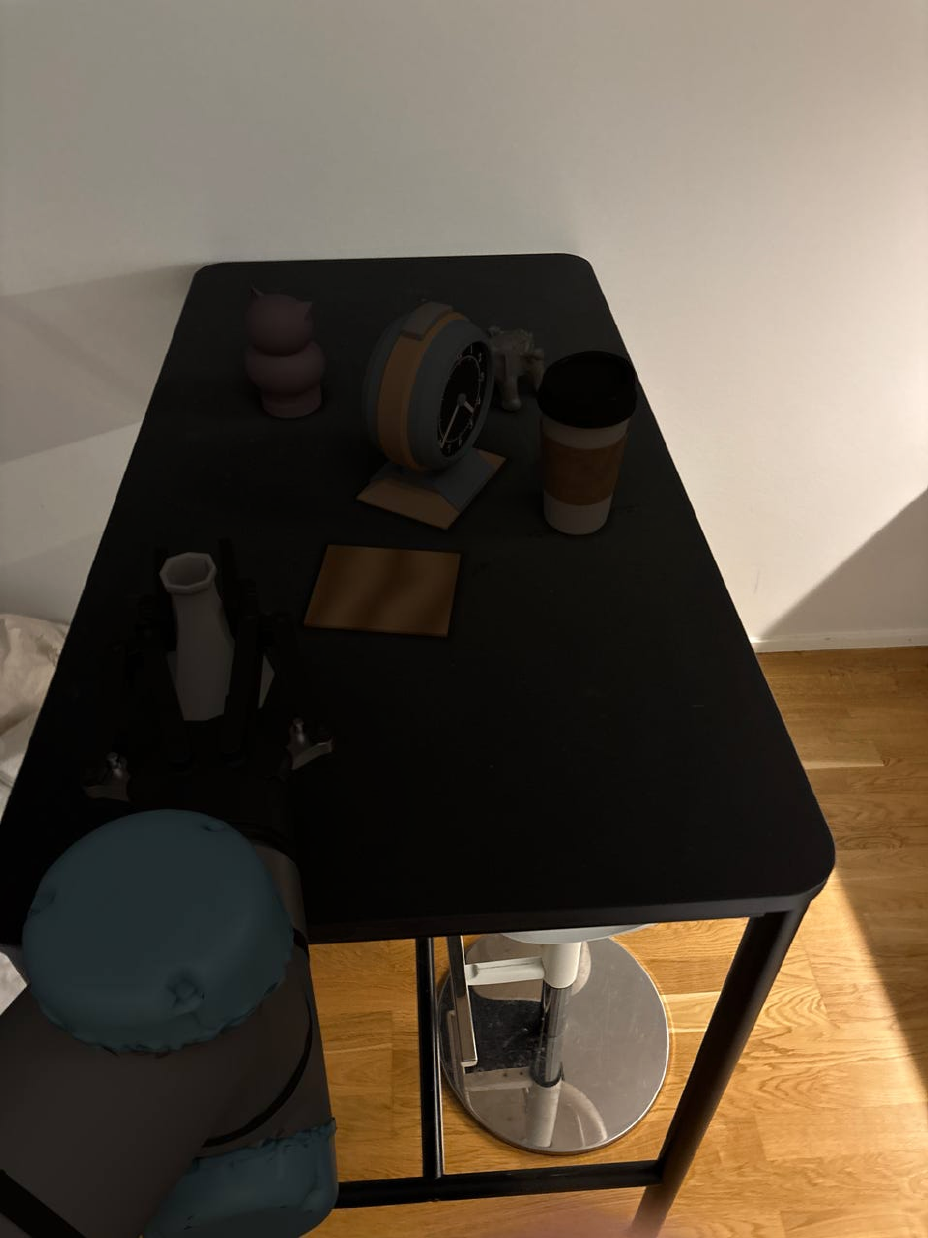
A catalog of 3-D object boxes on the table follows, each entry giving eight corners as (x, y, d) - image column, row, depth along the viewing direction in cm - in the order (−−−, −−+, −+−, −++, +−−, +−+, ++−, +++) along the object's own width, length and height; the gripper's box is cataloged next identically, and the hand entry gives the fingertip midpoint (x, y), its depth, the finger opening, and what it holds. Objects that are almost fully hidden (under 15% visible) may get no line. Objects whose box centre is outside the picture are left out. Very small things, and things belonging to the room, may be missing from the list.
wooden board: (303, 626, 82) (303, 622, 81) (328, 547, 89) (328, 544, 88) (446, 637, 81) (446, 634, 80) (460, 556, 88) (460, 553, 87)
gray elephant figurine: (557, 384, 107) (561, 320, 102) (515, 443, 100) (517, 376, 94) (479, 366, 110) (480, 302, 105) (433, 422, 103) (430, 356, 97)
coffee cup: (639, 521, 91) (662, 379, 80) (568, 556, 88) (581, 412, 77) (582, 476, 96) (596, 336, 85) (512, 507, 92) (517, 366, 82)
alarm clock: (440, 536, 90) (435, 364, 77) (350, 505, 93) (331, 335, 80) (510, 454, 98) (515, 288, 86) (425, 428, 102) (419, 264, 89)
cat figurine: (236, 409, 104) (215, 304, 96) (279, 374, 109) (263, 271, 101) (303, 430, 102) (287, 324, 93) (344, 393, 106) (333, 289, 98)
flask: (273, 636, 66) (250, 522, 59) (277, 719, 61) (252, 605, 54) (164, 650, 66) (127, 536, 58) (159, 735, 61) (118, 621, 53)
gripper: (65, 952, 48) (81, 621, 64) (391, 882, 51) (329, 581, 67) (15, 873, 43) (46, 533, 59) (382, 799, 46) (317, 494, 62)
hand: (196, 559), depth 63 cm, fingers closed on flask, 3 cm apart
